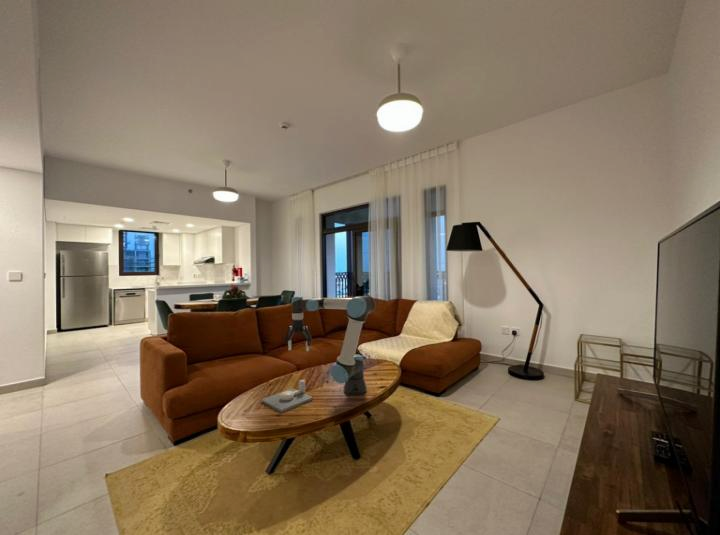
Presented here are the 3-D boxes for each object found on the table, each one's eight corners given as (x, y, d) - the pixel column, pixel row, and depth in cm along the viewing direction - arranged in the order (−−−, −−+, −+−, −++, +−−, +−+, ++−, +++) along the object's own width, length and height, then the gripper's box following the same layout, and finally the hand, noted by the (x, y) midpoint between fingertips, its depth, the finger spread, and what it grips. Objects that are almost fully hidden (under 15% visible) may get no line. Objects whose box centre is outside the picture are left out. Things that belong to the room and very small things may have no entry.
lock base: (312, 399, 174) (312, 396, 174) (281, 412, 158) (281, 409, 158) (292, 390, 189) (292, 387, 189) (261, 401, 173) (261, 399, 173)
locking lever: (285, 401, 168) (285, 389, 168) (277, 398, 173) (277, 386, 174) (308, 392, 181) (308, 381, 181) (301, 389, 186) (300, 378, 186)
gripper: (316, 318, 195) (317, 349, 194) (284, 318, 202) (285, 348, 201) (311, 320, 187) (312, 352, 187) (278, 319, 195) (279, 351, 194)
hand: (298, 350), depth 194 cm, fingers open, 13 cm apart
